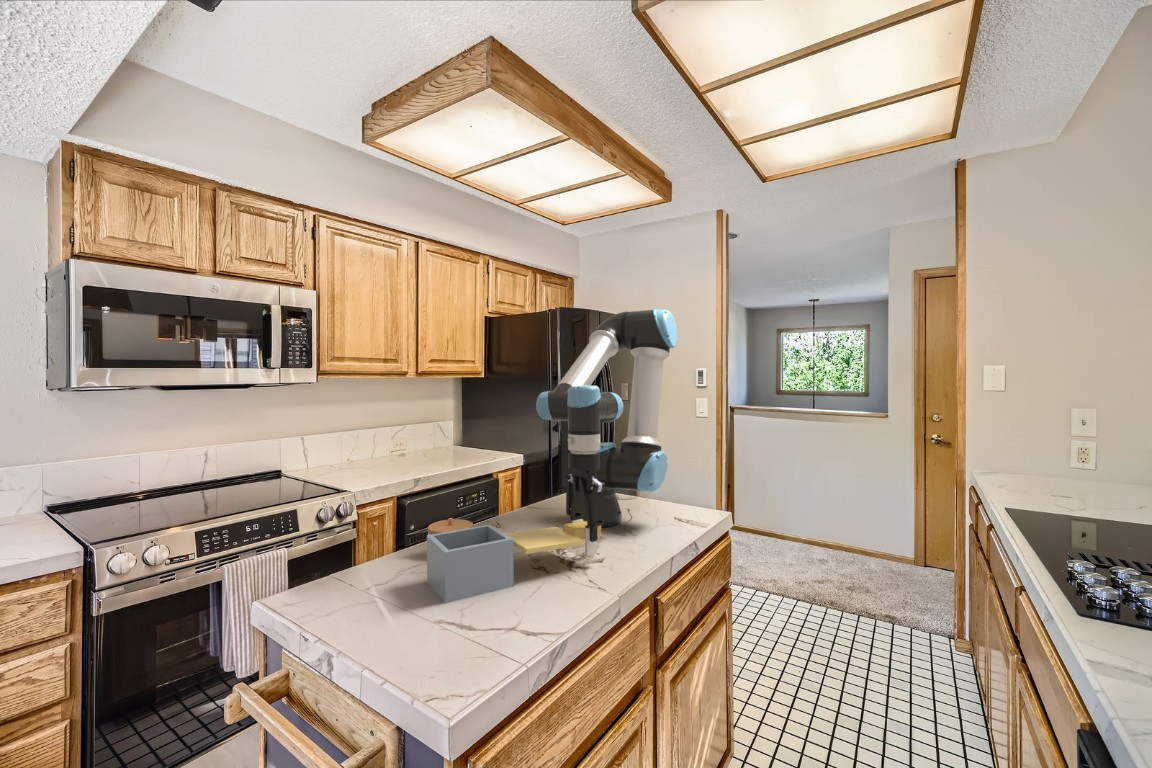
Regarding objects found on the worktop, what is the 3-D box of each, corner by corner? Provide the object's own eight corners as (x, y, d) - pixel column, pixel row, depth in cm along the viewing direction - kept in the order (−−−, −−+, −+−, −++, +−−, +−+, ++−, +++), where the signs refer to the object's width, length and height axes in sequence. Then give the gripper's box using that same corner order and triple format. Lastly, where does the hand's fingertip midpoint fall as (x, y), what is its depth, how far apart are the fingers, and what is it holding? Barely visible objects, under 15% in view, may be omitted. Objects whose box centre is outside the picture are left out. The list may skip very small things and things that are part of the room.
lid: (580, 527, 126) (581, 517, 126) (609, 540, 116) (609, 529, 116) (502, 538, 115) (502, 527, 115) (526, 553, 105) (526, 541, 105)
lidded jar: (462, 566, 118) (462, 526, 117) (419, 563, 120) (419, 523, 120) (480, 550, 128) (479, 513, 128) (440, 548, 130) (440, 511, 130)
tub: (490, 573, 113) (490, 524, 113) (513, 593, 103) (513, 539, 103) (427, 588, 106) (426, 535, 106) (445, 610, 96) (445, 552, 96)
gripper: (550, 448, 125) (551, 543, 125) (592, 458, 109) (592, 566, 110) (576, 445, 129) (577, 537, 129) (620, 455, 113) (620, 559, 114)
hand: (584, 550), depth 119 cm, fingers closed on lid, 5 cm apart
